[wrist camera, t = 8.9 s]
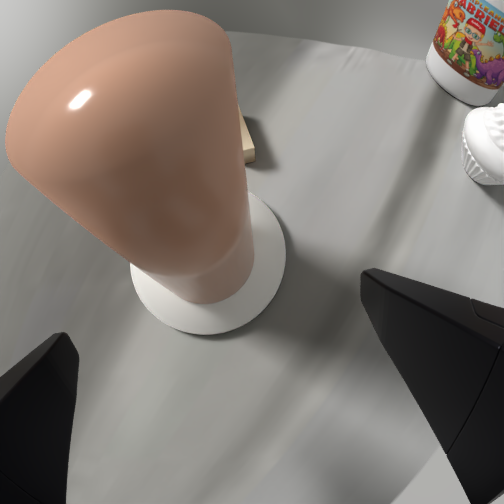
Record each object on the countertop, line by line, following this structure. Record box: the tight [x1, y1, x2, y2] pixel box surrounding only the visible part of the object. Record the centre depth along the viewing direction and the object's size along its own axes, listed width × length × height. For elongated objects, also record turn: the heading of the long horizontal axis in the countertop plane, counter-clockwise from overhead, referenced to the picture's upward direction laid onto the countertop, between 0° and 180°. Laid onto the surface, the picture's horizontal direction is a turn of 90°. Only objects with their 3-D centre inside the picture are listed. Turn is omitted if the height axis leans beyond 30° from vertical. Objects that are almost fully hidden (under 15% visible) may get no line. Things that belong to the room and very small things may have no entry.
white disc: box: [130, 192, 286, 335], centre depth 18 cm, size 9×9×1 cm
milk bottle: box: [426, 0, 504, 106], centre depth 14 cm, size 8×8×20 cm
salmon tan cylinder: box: [5, 10, 255, 304], centre depth 12 cm, size 6×6×13 cm
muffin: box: [461, 103, 504, 185], centre depth 17 cm, size 6×6×7 cm
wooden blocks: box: [238, 106, 255, 164], centre depth 20 cm, size 8×9×3 cm
